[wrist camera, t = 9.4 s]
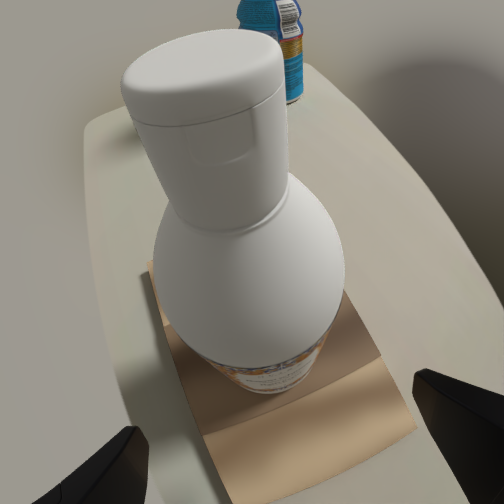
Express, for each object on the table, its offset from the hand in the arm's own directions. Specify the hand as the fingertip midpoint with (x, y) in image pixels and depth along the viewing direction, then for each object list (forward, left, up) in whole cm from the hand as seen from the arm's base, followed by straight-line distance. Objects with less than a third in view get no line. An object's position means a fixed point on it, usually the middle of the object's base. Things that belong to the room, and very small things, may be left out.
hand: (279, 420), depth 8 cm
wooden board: (+5, +2, -14) cm, 15 cm away
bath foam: (+5, +2, -12) cm, 14 cm away
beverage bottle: (+41, +8, -14) cm, 44 cm away
